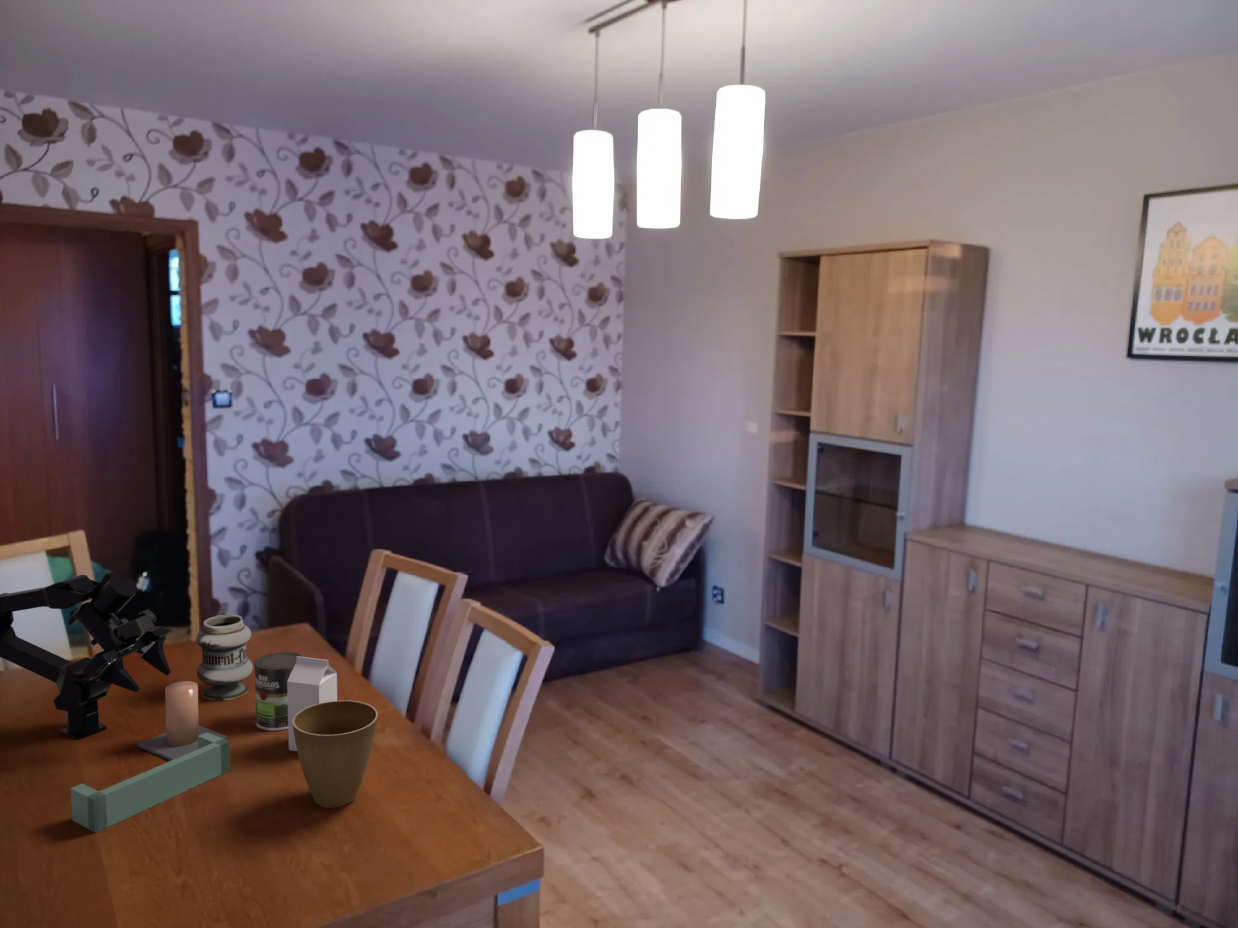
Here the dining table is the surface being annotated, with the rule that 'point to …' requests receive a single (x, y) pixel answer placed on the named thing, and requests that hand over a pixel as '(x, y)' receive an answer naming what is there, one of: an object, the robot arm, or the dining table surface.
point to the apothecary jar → (224, 657)
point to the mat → (173, 752)
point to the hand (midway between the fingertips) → (153, 682)
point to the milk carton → (309, 688)
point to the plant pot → (334, 748)
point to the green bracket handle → (150, 785)
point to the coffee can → (273, 689)
